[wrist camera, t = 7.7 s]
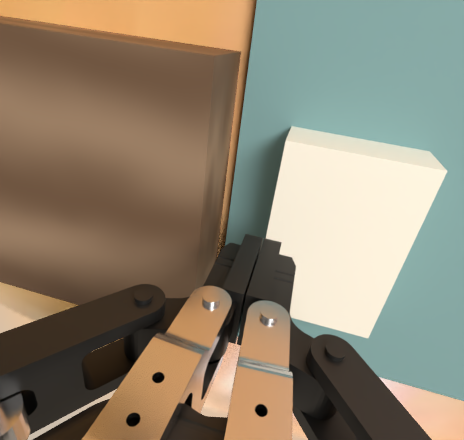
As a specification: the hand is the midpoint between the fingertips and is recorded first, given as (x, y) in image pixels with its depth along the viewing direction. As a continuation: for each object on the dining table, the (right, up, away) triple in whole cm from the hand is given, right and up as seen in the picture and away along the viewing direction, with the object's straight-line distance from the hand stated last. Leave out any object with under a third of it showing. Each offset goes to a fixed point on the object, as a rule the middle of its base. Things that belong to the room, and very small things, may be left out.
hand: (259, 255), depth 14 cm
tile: (+3, 0, +1) cm, 4 cm away
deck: (-11, +5, +6) cm, 14 cm away
